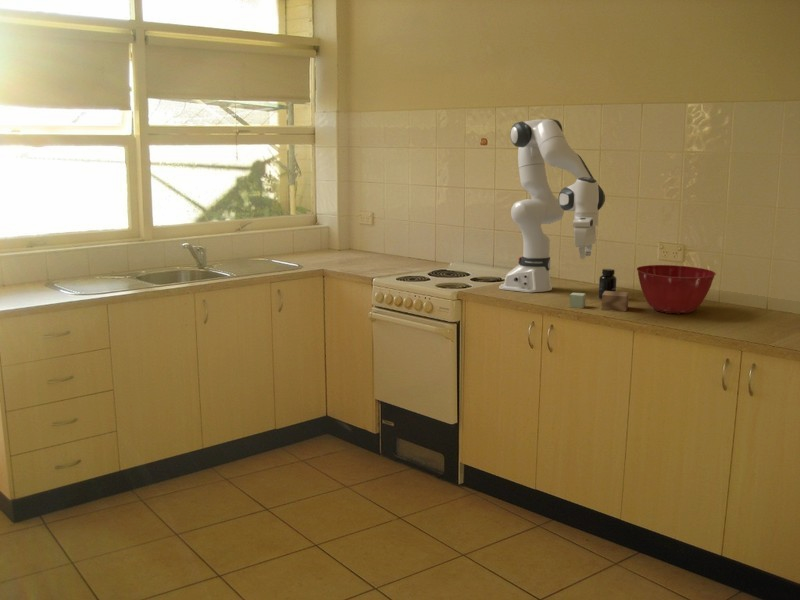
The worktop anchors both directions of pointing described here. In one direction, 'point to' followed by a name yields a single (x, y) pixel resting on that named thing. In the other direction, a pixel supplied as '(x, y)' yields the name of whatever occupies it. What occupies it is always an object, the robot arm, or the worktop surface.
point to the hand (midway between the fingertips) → (585, 257)
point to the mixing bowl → (674, 287)
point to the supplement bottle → (607, 281)
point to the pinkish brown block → (615, 300)
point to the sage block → (577, 300)
